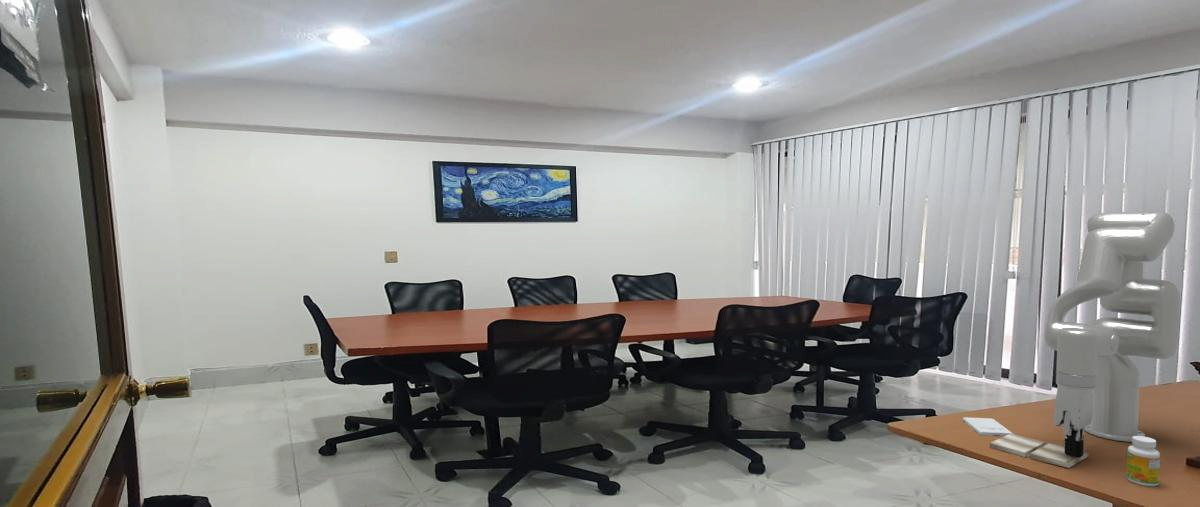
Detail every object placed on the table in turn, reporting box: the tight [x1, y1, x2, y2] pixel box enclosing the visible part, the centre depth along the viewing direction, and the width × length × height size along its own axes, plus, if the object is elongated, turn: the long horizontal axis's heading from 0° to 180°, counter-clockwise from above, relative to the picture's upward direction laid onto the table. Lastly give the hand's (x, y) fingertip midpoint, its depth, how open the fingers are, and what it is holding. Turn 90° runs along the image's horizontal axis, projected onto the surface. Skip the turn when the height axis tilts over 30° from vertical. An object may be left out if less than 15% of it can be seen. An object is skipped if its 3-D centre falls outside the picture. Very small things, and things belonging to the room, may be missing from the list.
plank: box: [1029, 442, 1089, 469], centre depth 149 cm, size 12×8×1 cm, turn 124°
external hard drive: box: [962, 416, 1014, 437], centre depth 170 cm, size 2×8×12 cm
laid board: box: [989, 433, 1046, 459], centre depth 156 cm, size 12×9×1 cm
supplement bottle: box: [1126, 436, 1161, 487], centre depth 135 cm, size 5×5×10 cm
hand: (1073, 455), depth 146 cm, fingers closed
